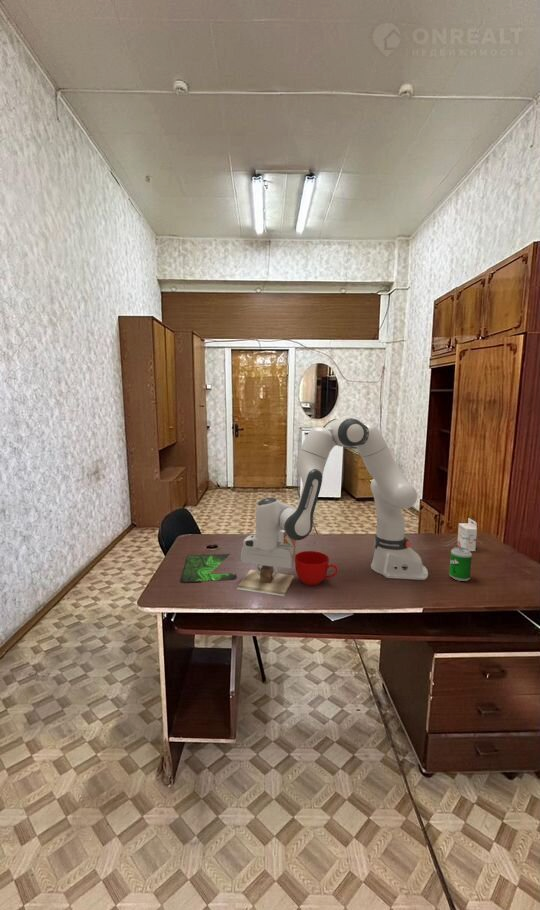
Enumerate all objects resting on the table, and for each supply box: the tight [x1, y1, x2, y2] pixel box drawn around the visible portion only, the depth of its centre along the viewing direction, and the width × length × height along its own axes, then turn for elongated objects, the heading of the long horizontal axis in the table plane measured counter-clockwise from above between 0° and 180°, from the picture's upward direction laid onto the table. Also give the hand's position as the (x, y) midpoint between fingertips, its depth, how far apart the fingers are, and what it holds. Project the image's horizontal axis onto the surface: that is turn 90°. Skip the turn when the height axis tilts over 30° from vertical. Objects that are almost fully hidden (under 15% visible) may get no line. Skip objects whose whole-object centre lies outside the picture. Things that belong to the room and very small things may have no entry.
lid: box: [237, 565, 295, 596], centre depth 145 cm, size 18×14×6 cm
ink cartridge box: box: [456, 517, 478, 552], centre depth 181 cm, size 9×5×15 cm, turn 179°
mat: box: [236, 587, 286, 597], centre depth 145 cm, size 18×16×1 cm
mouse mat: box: [179, 553, 238, 584], centre depth 159 cm, size 27×22×1 cm
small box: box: [279, 530, 297, 557], centre depth 171 cm, size 8×6×13 cm
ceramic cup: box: [294, 550, 339, 586], centre depth 145 cm, size 13×17×10 cm
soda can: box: [448, 546, 473, 582], centre depth 150 cm, size 8×8×12 cm
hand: (266, 575), depth 145 cm, fingers closed on lid, 4 cm apart
